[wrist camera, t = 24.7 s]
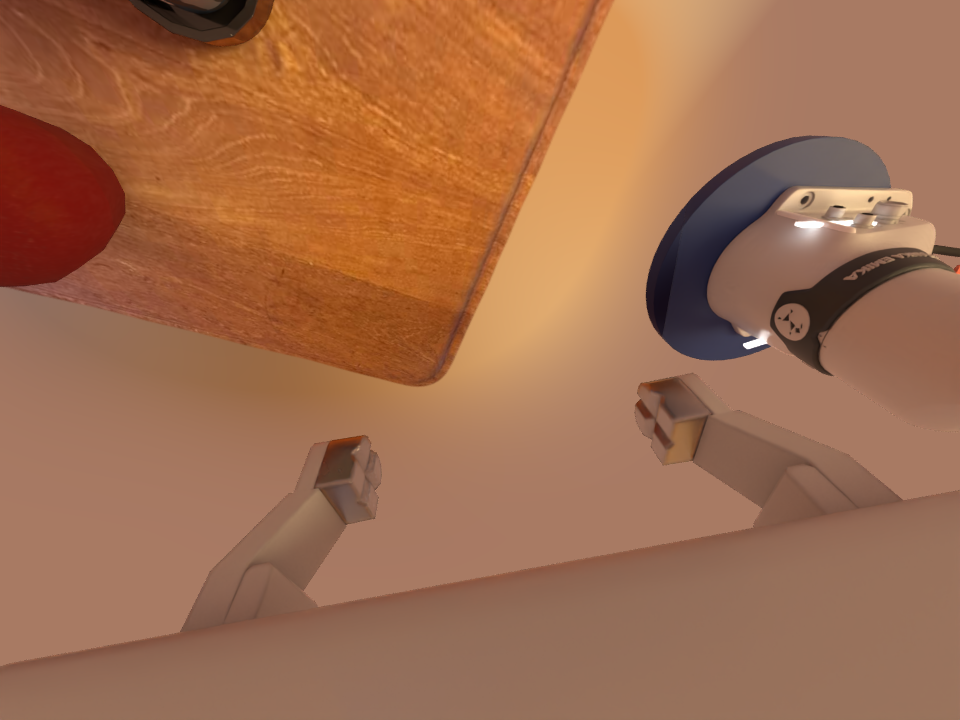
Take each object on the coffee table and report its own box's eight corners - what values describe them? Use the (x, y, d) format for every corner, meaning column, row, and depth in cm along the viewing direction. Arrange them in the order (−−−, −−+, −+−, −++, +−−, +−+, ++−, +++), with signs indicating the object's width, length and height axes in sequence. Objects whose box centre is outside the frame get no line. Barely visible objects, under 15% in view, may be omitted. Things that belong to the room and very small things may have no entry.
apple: (136, 272, 34) (-1, 345, 24) (-28, 181, 29) (-303, 222, 18) (184, 174, 30) (44, 209, 19) (3, 46, 25) (-333, -5, 14)
